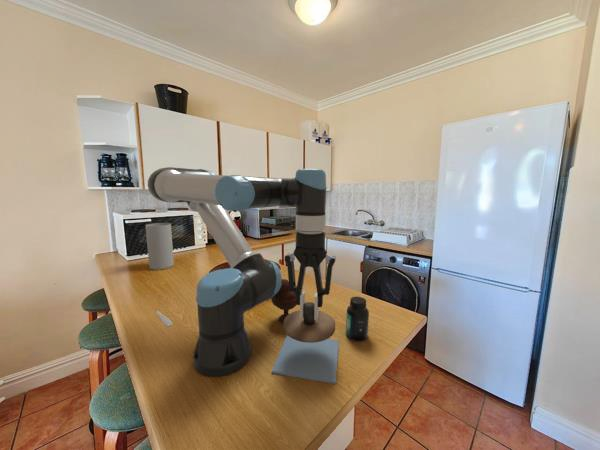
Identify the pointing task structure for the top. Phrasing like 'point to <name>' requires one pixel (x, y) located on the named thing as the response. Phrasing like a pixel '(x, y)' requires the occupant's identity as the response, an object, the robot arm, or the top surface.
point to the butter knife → (164, 319)
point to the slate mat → (308, 360)
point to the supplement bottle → (357, 319)
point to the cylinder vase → (159, 246)
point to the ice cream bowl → (284, 299)
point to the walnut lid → (309, 325)
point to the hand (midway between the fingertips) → (309, 316)
